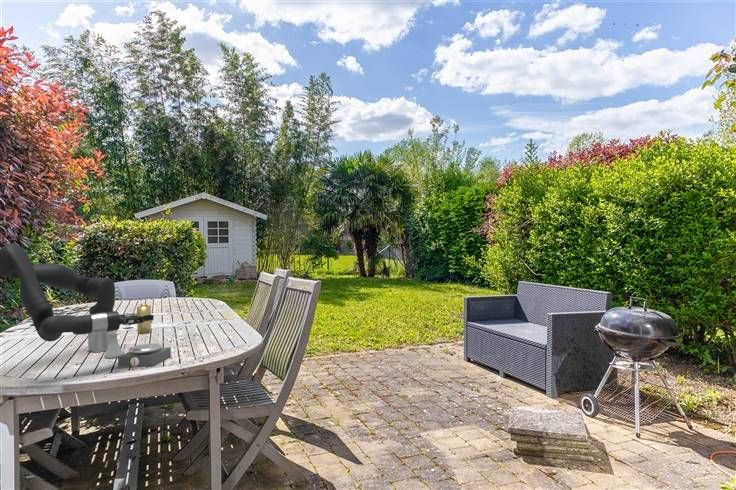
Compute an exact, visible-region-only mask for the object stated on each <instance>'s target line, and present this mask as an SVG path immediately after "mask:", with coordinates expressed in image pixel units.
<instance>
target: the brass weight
mask: <svg viewBox="0 0 736 490" xmlns="http://www.w3.org/2000/svg"><path fill="white" fill-rule="evenodd" d="M151 306H152V305H148V303H141V304H140V305H138V306H137V307H136V314H137V316H141V315H143V316H145V315H152V312H151V311H152V310H151V309H152V307H151ZM138 321H140V318H138ZM136 325H137V326H136V327H137V331H136V332H137V335H148V334H151V333H152V320H150V321H144V322H143V323H138V324H136Z"/></svg>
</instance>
